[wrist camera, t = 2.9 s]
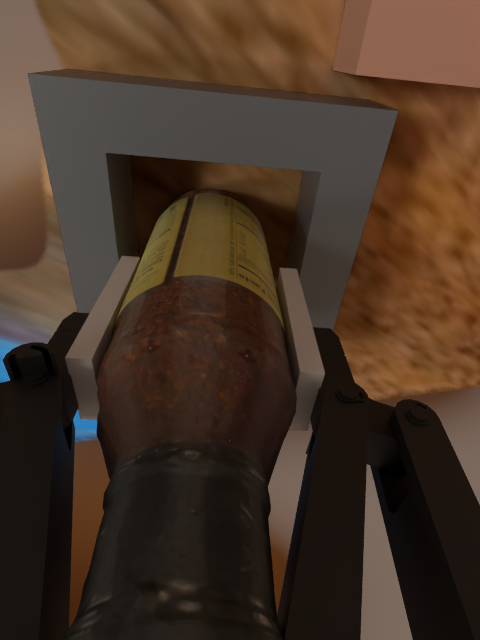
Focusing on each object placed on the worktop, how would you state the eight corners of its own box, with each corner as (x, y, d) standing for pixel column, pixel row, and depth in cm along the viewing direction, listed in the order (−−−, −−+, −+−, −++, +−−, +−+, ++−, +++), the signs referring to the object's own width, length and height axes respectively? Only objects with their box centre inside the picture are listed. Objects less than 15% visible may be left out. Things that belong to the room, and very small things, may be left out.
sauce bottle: (176, 290, 24) (40, 790, 8) (142, 194, 20) (-248, 757, 4) (277, 272, 23) (360, 789, 7) (260, 169, 19) (349, 746, 3)
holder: (108, 329, 26) (89, 370, 22) (67, 69, 17) (27, 73, 14) (307, 342, 26) (317, 383, 23) (368, 99, 18) (398, 111, 14)
